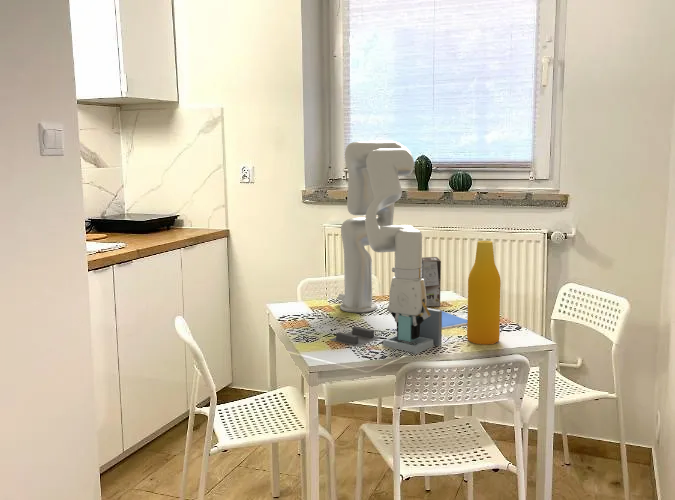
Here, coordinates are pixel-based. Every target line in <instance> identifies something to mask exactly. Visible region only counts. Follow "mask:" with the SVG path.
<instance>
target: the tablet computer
mask: <svg viewBox="0 0 675 500" xmlns="http://www.w3.org/2000/svg"><path fill="white" fill-rule="evenodd" d="M435 309H436V310H439V309H437V308H435ZM467 320H468V319H466V318H462V317H459V316H458V315H454V314H451V313H448V312H445V311H443V310H442V330H447V329H453V328H458V327H464V326H467Z"/></svg>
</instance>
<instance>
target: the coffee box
mask: <svg viewBox="0 0 675 500" xmlns="http://www.w3.org/2000/svg"><path fill="white" fill-rule="evenodd" d="M441 264H442V260H441V259H439V257H437V256H426V257H423V256H422V279H424V283H425V289H426V302H427V306H426V307H440V306H441V275H442V274H441V270H442V265H441Z"/></svg>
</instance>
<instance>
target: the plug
mask: <svg viewBox="0 0 675 500" xmlns="http://www.w3.org/2000/svg"><path fill="white" fill-rule="evenodd" d="M412 325H413V321H412V316H410V315H404V314H401V315H398V339H399V340H400V341H405V342H408V343H409V342H410V343H411V341H413V339H411V326H412ZM416 339H418V338H416ZM416 339H414V340H416Z"/></svg>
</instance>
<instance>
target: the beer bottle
mask: <svg viewBox="0 0 675 500" xmlns="http://www.w3.org/2000/svg"><path fill="white" fill-rule="evenodd" d="M475 251H476V252H475V259H474V263H473V266H472V268H471V269H470V271H469V275H468V278H467V319H466V320H467V325H466V326H467V327H466V338H467V340H468V342H470V343H473V344H477V345H494V344H496V342H497V343H498V342H499V339H500V332H501V329H500V327H501V325H500V324H501V322H500V319H501V288H502V287H501V285H502V282H501V276H500V272H499V270H498V267H497V266H496V262H495V255H494V253H495V252H494V242H493V241H492V240H478V241H477V244H476V250H475Z"/></svg>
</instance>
